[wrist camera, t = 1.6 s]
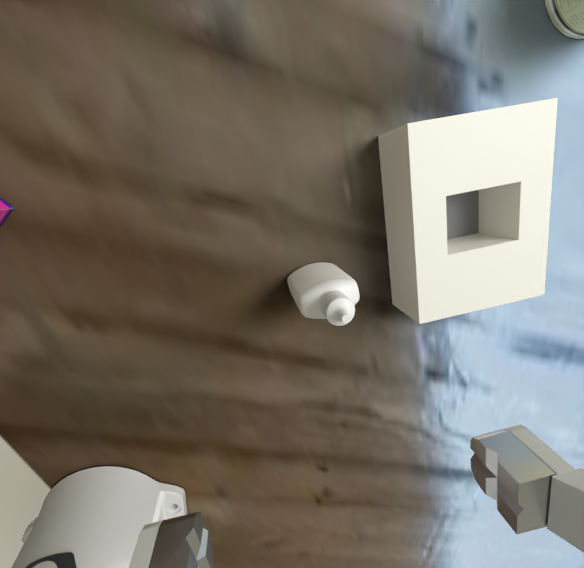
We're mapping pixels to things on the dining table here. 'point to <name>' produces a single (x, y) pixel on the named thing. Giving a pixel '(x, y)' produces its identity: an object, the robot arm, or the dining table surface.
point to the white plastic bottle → (324, 292)
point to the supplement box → (4, 210)
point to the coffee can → (567, 16)
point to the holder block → (468, 209)
